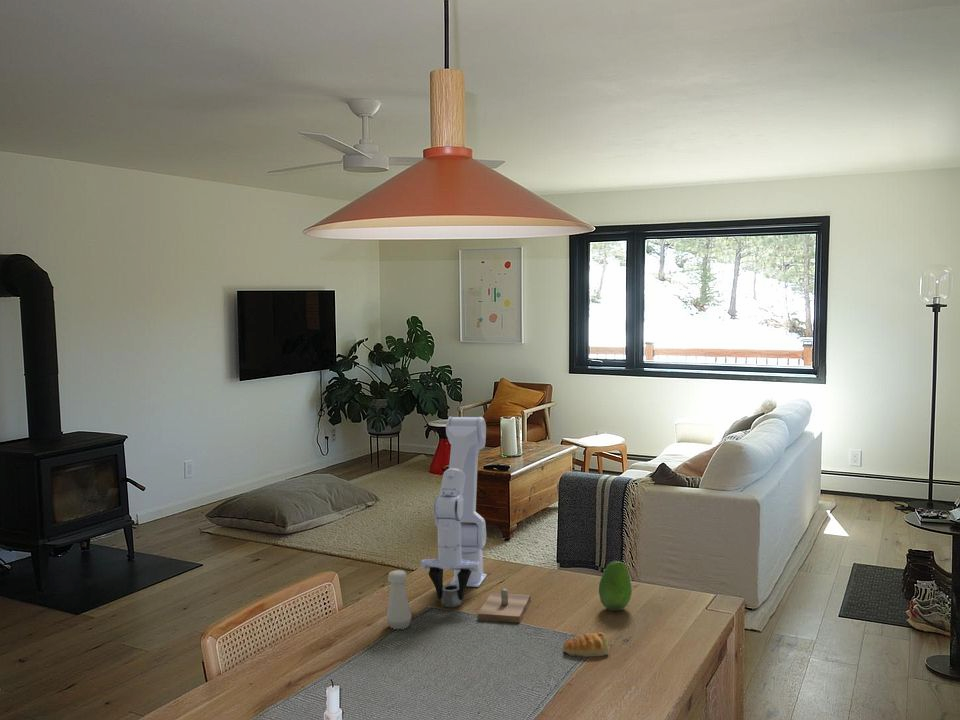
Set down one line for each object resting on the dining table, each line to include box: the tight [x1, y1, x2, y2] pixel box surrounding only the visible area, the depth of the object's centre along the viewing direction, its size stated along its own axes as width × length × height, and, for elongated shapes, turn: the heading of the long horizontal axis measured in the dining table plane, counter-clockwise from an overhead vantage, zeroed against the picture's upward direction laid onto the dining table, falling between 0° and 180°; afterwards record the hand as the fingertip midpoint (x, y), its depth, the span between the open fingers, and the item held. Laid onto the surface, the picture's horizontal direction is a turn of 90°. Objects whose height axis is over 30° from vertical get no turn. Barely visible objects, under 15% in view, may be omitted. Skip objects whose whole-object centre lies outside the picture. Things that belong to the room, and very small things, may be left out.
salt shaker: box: [385, 569, 412, 630], centre depth 190 cm, size 6×6×13 cm
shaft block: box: [477, 588, 531, 624], centre depth 198 cm, size 14×10×5 cm
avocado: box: [598, 560, 632, 612], centre depth 196 cm, size 8×8×12 cm
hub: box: [440, 584, 462, 608], centre depth 203 cm, size 5×5×4 cm
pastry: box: [562, 631, 610, 658], centre depth 174 cm, size 9×7×4 cm
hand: (451, 598), depth 204 cm, fingers open, 5 cm apart
